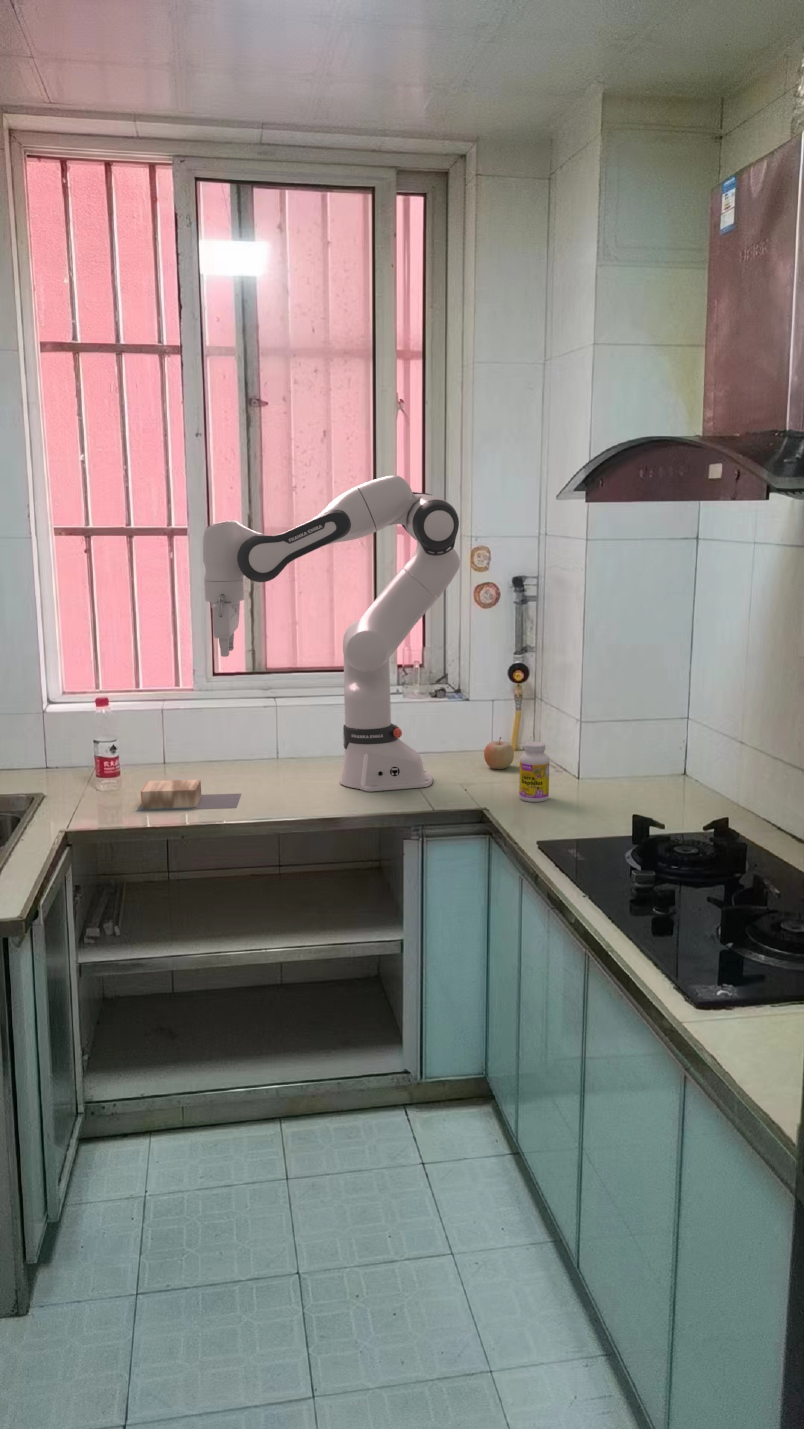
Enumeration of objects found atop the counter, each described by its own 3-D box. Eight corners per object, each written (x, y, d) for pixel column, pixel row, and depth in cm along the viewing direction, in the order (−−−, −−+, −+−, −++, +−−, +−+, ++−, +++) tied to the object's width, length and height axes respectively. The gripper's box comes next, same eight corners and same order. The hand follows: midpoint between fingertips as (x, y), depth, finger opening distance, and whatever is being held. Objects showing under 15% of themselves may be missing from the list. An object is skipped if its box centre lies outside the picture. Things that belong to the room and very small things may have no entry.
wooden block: (200, 779, 246) (147, 781, 245) (195, 789, 237) (140, 791, 236) (201, 796, 247) (149, 797, 246) (196, 807, 238) (141, 808, 237)
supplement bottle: (515, 801, 240) (516, 745, 238) (523, 793, 246) (524, 739, 244) (544, 804, 238) (545, 748, 235) (551, 796, 244) (552, 741, 241)
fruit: (497, 763, 276) (497, 732, 274) (519, 767, 270) (519, 737, 269) (477, 768, 271) (477, 737, 269) (498, 773, 265) (498, 742, 264)
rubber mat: (241, 795, 249) (241, 793, 248) (236, 810, 237) (236, 808, 237) (146, 798, 247) (146, 796, 247) (136, 813, 236) (136, 810, 236)
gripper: (233, 596, 232) (236, 659, 235) (242, 589, 252) (245, 647, 255) (204, 597, 232) (207, 660, 235) (215, 589, 252) (218, 647, 255)
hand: (227, 653), depth 245 cm, fingers open, 8 cm apart
